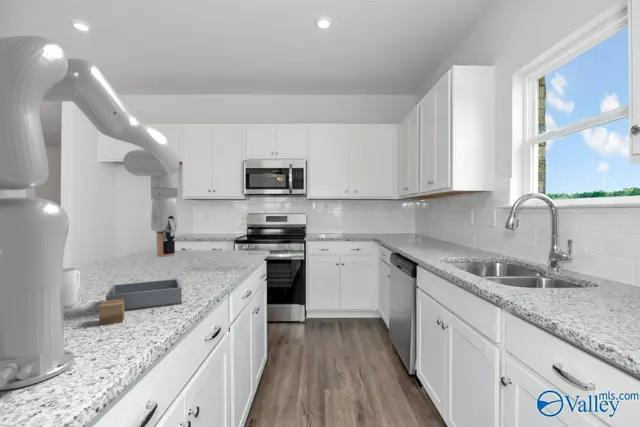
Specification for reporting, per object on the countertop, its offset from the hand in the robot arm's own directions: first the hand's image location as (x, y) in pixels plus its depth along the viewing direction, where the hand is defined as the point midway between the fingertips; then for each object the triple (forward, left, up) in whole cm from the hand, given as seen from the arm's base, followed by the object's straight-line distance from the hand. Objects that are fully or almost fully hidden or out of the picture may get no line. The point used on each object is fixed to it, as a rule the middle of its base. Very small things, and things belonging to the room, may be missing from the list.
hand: (165, 252), depth 97 cm
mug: (+13, +28, -16) cm, 35 cm away
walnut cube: (-10, +13, -16) cm, 23 cm away
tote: (+5, +6, -16) cm, 18 cm away
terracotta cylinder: (0, 0, -1) cm, 1 cm away
